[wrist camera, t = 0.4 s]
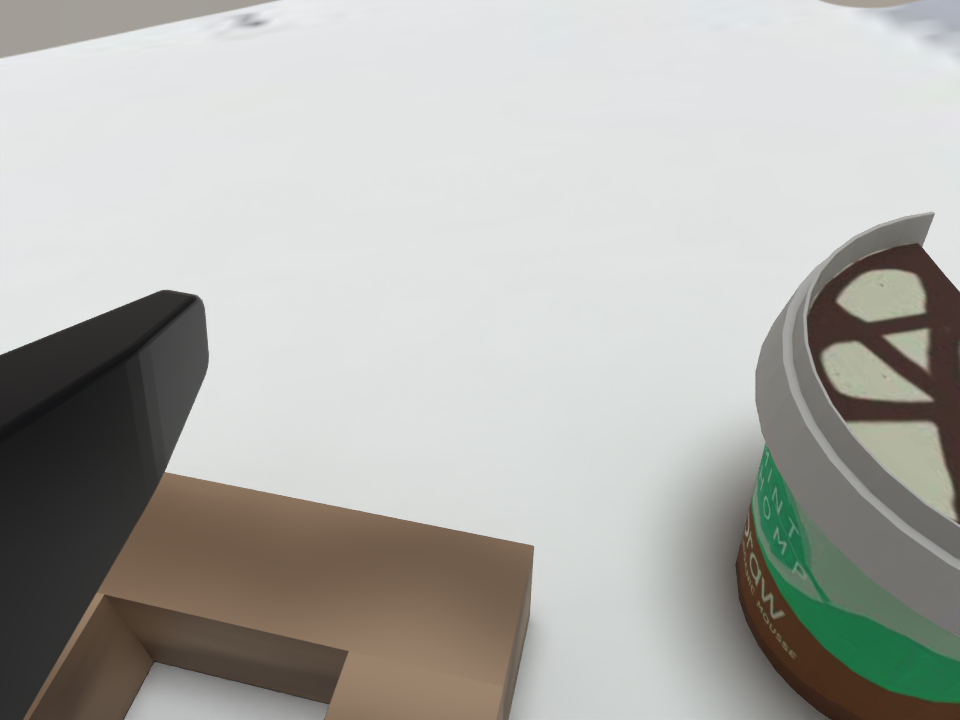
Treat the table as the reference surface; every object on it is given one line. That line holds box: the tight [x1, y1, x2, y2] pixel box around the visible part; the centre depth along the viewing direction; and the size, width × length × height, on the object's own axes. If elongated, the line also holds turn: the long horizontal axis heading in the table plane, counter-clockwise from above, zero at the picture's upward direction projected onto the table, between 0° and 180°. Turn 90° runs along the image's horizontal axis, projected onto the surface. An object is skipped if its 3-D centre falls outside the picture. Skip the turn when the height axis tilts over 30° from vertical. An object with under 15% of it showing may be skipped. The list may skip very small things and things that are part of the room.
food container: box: [736, 212, 960, 720], centre depth 20 cm, size 12×6×10 cm, turn 9°
